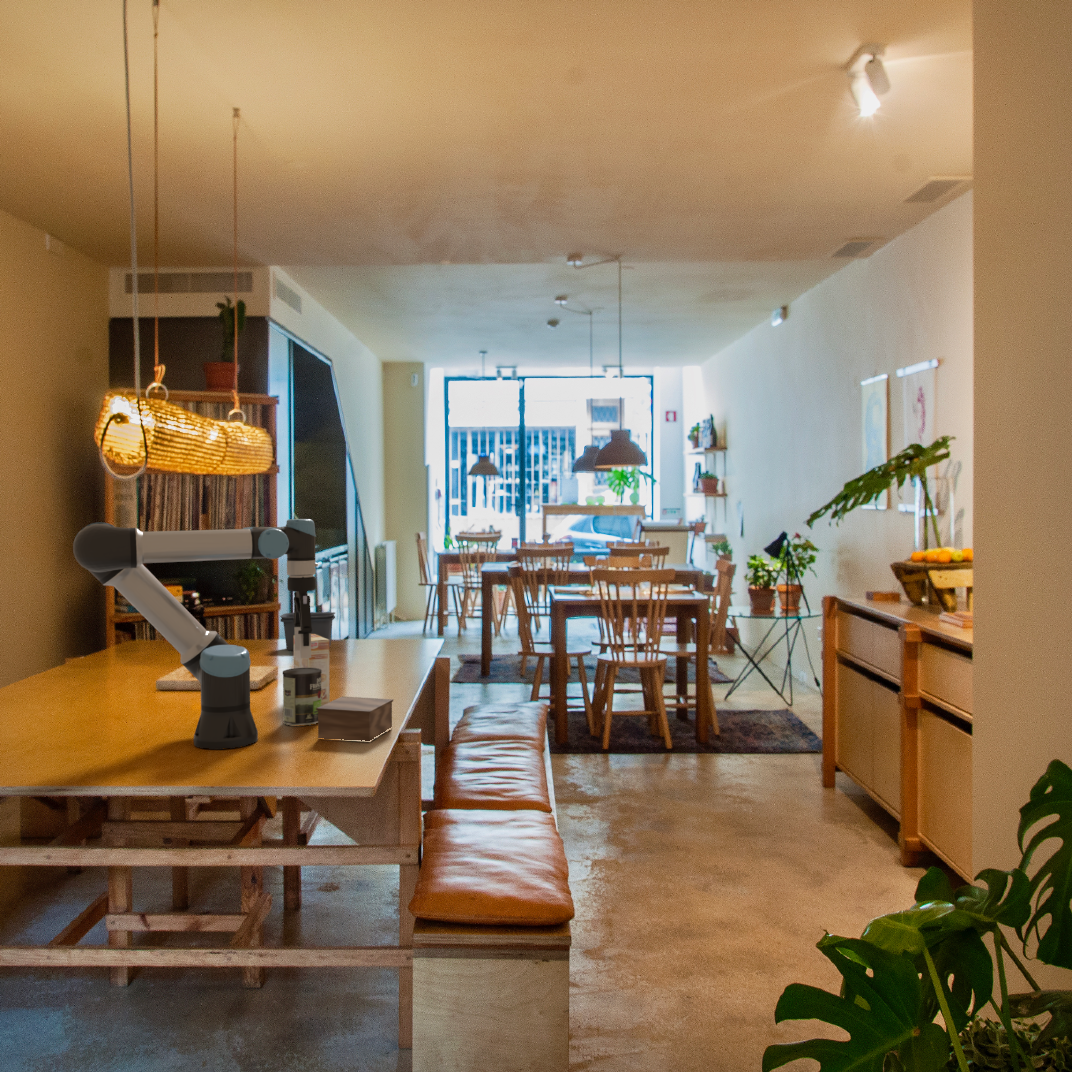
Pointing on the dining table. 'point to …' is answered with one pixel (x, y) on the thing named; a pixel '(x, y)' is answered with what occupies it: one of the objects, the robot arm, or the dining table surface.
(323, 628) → the storage bin
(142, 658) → the dining table surface
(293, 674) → the coffee can
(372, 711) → the walnut box
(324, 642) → the coffeecake box
